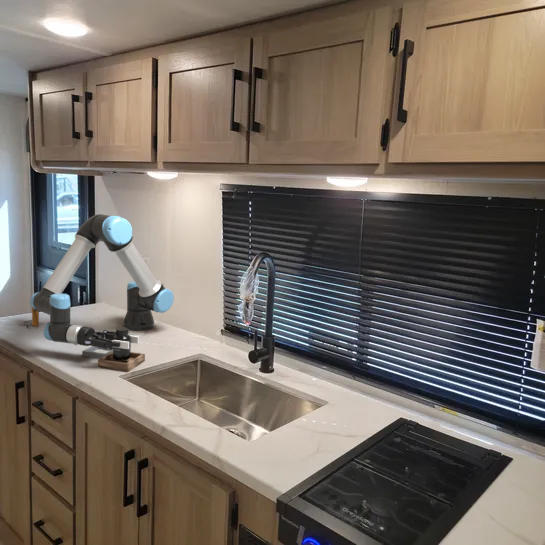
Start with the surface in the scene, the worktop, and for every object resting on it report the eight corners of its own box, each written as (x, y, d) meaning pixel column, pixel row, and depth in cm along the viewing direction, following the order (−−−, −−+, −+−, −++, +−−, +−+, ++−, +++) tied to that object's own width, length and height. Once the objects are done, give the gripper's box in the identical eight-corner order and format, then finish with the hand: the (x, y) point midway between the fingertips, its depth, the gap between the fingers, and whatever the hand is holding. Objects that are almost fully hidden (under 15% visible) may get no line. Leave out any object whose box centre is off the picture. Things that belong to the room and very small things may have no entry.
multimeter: (16, 321, 243) (15, 282, 240) (38, 320, 247) (38, 281, 244) (15, 330, 230) (13, 288, 226) (38, 328, 234) (37, 287, 231)
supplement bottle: (112, 361, 190) (112, 331, 188) (113, 355, 196) (113, 326, 194) (130, 360, 192) (131, 331, 190) (130, 355, 198) (131, 326, 196)
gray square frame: (97, 347, 212) (97, 343, 211) (120, 351, 209) (120, 346, 209) (82, 355, 201) (82, 351, 201) (106, 359, 199) (106, 354, 198)
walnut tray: (116, 356, 202) (116, 349, 202) (144, 361, 199) (144, 353, 199) (97, 367, 190) (97, 359, 189) (128, 372, 187) (128, 364, 186)
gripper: (95, 337, 207) (145, 344, 202) (66, 352, 188) (120, 360, 183) (95, 320, 206) (145, 327, 201) (65, 333, 187) (120, 340, 182)
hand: (133, 342), depth 192 cm, fingers closed on supplement bottle, 7 cm apart
